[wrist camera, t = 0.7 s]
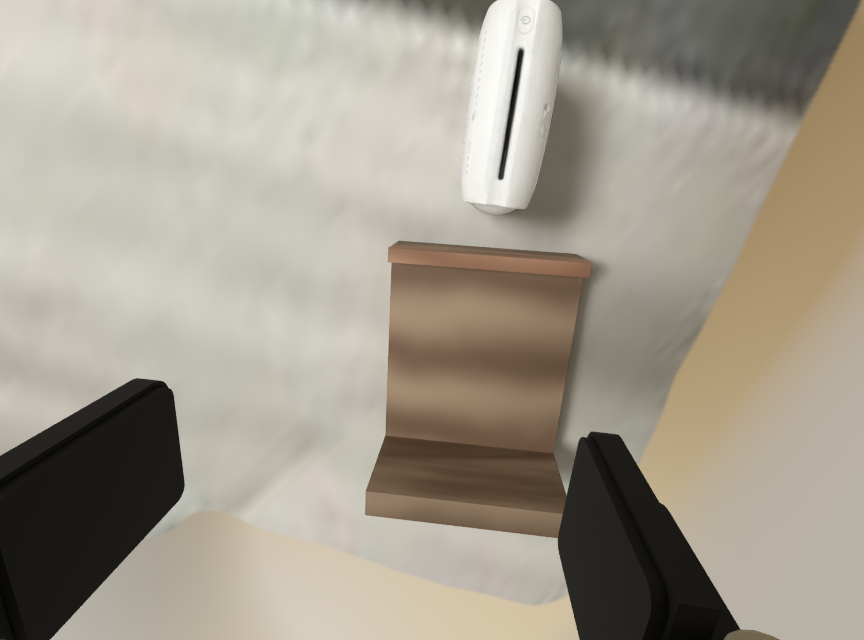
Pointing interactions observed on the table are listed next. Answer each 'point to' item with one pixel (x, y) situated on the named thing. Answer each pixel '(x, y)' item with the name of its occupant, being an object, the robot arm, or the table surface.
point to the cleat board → (476, 386)
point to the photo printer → (511, 104)
